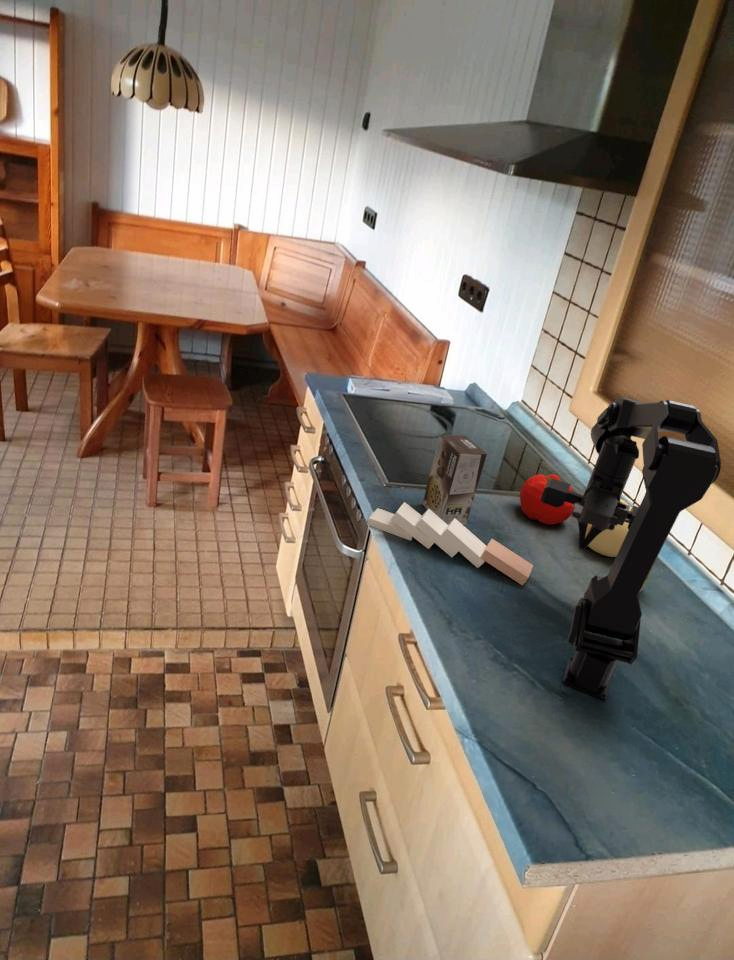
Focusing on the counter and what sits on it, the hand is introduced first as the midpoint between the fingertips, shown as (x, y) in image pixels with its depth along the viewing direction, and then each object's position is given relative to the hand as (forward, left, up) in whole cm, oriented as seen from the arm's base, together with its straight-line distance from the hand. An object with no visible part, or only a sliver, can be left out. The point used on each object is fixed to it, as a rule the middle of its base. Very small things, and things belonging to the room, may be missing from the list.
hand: (581, 548), depth 124 cm
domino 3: (-2, +21, -8) cm, 22 cm away
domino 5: (-2, +7, -8) cm, 11 cm away
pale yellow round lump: (+22, -5, -9) cm, 24 cm away
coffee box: (+11, +27, -9) cm, 31 cm away
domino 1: (-1, +29, -8) cm, 31 cm away
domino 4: (-2, +15, -8) cm, 17 cm away
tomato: (+26, +9, -9) cm, 29 cm away
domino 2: (-2, +25, -8) cm, 27 cm away
